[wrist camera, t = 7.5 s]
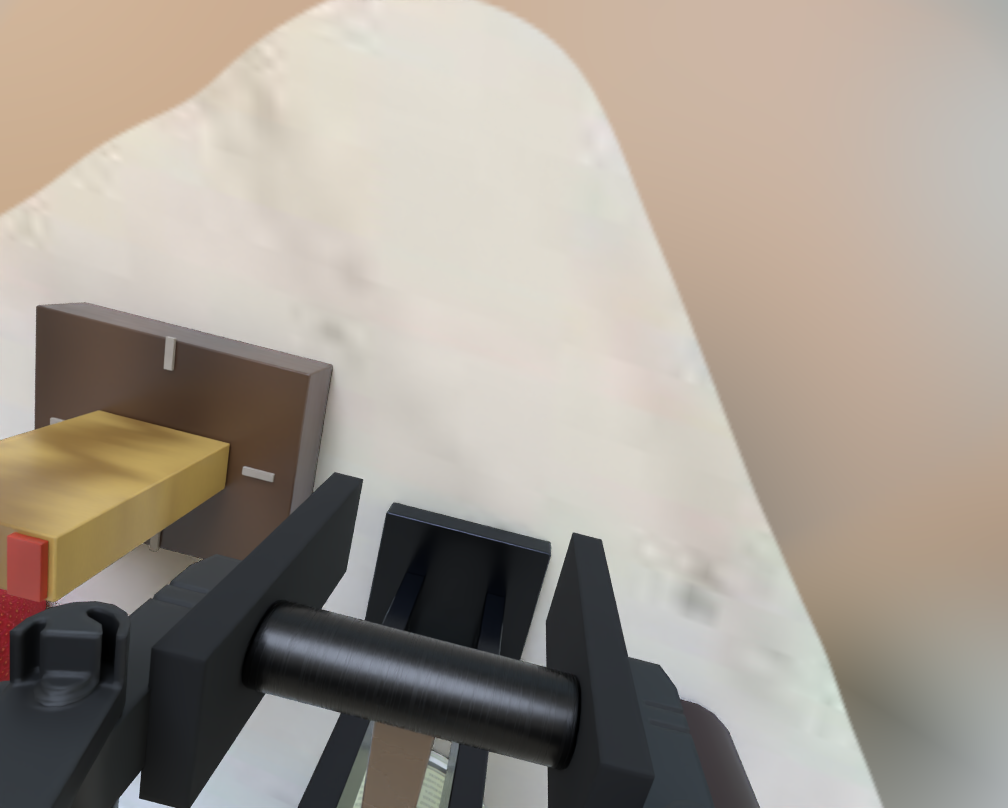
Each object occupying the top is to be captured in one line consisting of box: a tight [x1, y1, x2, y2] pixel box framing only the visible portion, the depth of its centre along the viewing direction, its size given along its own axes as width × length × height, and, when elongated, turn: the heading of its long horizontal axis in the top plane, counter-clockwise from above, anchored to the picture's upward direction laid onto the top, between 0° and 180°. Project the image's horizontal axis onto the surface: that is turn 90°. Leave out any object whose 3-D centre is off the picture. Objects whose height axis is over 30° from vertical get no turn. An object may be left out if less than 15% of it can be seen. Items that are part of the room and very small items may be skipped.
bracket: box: [298, 503, 551, 808], centre depth 20 cm, size 10×8×15 cm
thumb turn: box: [0, 410, 230, 602], centre depth 19 cm, size 6×2×9 cm, turn 76°
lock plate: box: [35, 302, 332, 560], centre depth 24 cm, size 12×10×3 cm
